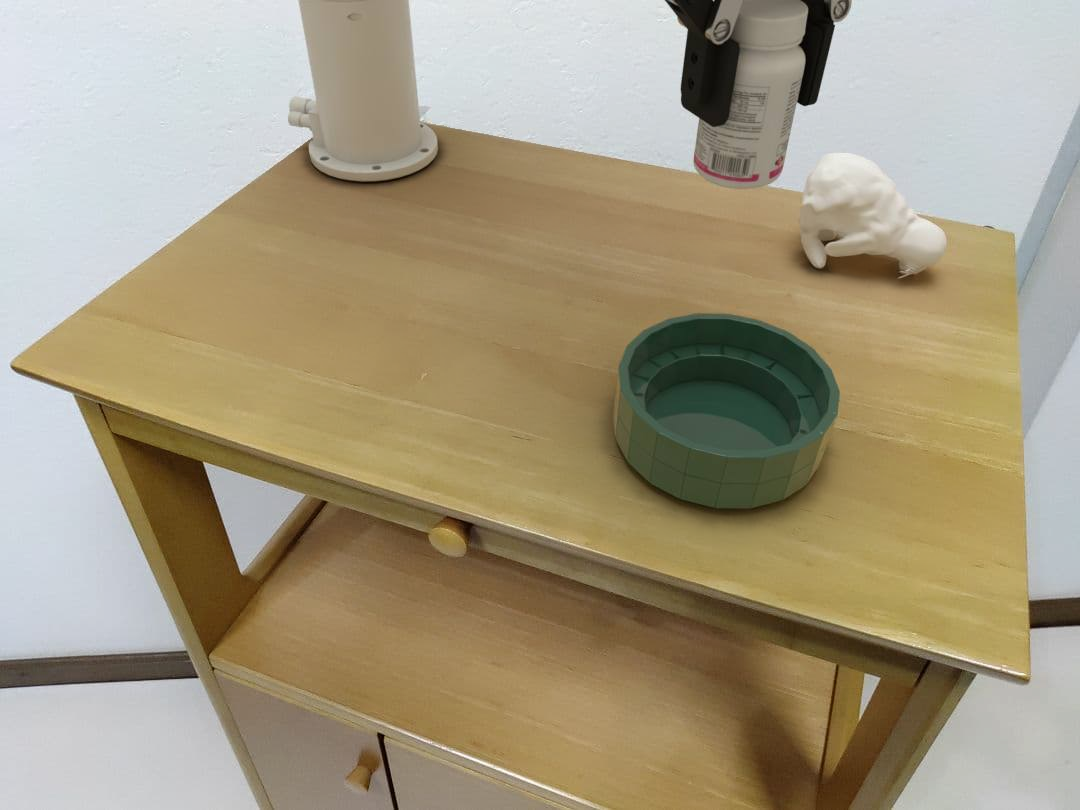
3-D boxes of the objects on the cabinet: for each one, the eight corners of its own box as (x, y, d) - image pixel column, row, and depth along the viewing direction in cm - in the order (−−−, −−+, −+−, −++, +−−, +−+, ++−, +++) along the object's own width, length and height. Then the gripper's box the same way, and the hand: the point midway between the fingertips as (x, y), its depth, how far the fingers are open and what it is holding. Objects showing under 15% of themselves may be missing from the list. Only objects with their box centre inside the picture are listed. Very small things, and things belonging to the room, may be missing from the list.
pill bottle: (745, 143, 47) (775, -17, 41) (799, 180, 44) (840, 12, 38) (674, 160, 45) (695, -4, 39) (725, 199, 42) (755, 27, 36)
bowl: (589, 483, 50) (593, 425, 47) (639, 353, 60) (646, 297, 56) (809, 539, 47) (831, 481, 44) (826, 393, 57) (845, 336, 53)
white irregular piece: (825, 132, 66) (978, 176, 64) (792, 222, 72) (930, 266, 70) (809, 165, 62) (971, 214, 59) (775, 258, 68) (921, 306, 65)
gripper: (932, -384, 35) (826, 55, 47) (581, -393, 29) (566, 108, 42) (1088, -387, 30) (925, 103, 42) (704, -398, 24) (645, 171, 37)
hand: (748, 102), depth 42 cm, fingers closed on pill bottle, 4 cm apart
